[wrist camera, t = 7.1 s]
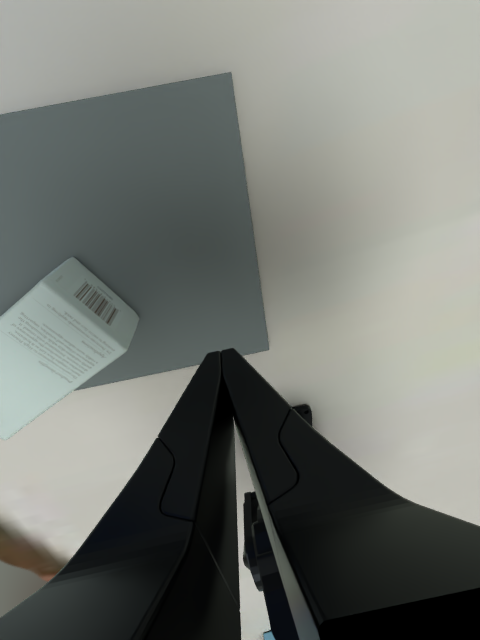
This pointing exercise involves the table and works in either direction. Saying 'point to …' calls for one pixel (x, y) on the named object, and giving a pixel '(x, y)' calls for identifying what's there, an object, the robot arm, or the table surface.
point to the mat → (139, 216)
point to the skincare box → (58, 341)
